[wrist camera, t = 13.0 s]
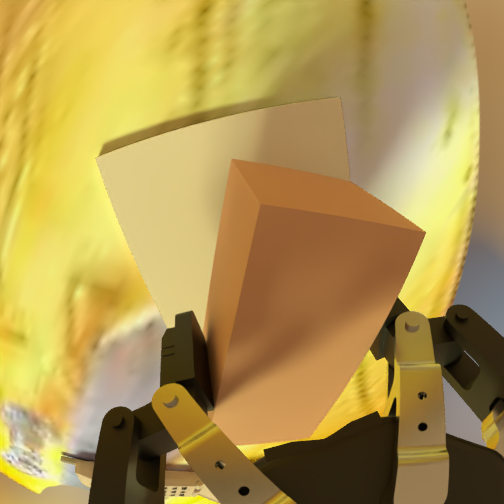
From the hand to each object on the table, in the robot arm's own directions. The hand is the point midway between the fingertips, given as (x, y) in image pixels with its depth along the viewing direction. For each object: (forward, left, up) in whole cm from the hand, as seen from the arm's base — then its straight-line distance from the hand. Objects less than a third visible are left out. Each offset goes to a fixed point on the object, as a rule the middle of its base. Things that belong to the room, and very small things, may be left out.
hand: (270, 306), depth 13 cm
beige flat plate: (0, 0, -3) cm, 3 cm away
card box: (0, 0, -1) cm, 1 cm away
